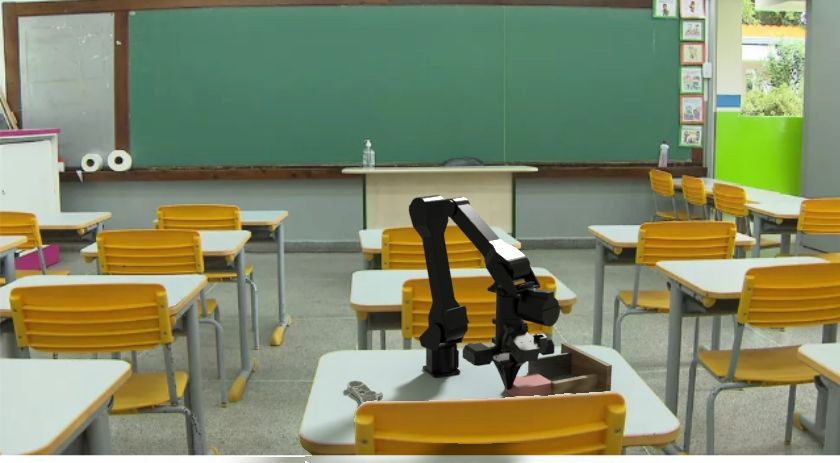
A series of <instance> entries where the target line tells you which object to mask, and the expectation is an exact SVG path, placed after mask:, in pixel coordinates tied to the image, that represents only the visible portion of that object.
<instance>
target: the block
mask: <svg viewBox="0 0 840 463" xmlns="http://www.w3.org/2000/svg"><path fill="white" fill-rule="evenodd" d="M551 382H552V381H551V380H550V379H546V378H545V377H543V376H541V375H539V374H538V373H536V374H531V375H527V374H526V375H521V376H516V378H515V381H514V383H513V386H512V388H511V390H507V389H505V388H504V391H505V392H507V393H509V394H510V395H512V396H513V397H514V396H534V395H545V396H550V395H551Z"/></svg>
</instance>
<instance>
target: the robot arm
mask: <svg viewBox="0 0 840 463" xmlns="http://www.w3.org/2000/svg"><path fill="white" fill-rule="evenodd" d="M408 214H409V218H410V220H411V224H412V227H413V229H414V230H415V231H416V232H417V234H418V236H420V237H421V242H422V247H423V253H424V260H425V264H426V265H425V266H426V269H427V270H426V272H427V277H428V278H427V279H428V282H429V289H430V295H431V296H430V297H431V300H432V303H431V307H430V309H429V312H428V315H427V322H428V325H427V326H428V328H426V330H425V331H424V332H422V334H421V335H419V343H420V346H421V347H422V348H424V349H425V365H423V366H422V369H423V370H424V371H426V372H427V373H428V374H430V375H431V376H432V377H434V378H440V377H445V376H451V375H457V374H458V375H459V374H461V370H460V369H458V368H459V367H460V365H459V364H460V350H458V344H461V343H463V340H464V337H465V335H466V333H467V332H468V330H469V329H468V328H469V324H470V320H469V318H468V313H467V311H468V309H467V307H466V305H460V303H459V302H458V301H457V299H456V297H455V291H454V285H453V279H452V275H451V274H452V273H451V269H450V262H449V256H448V250H447V244H446V237H445V232H446V229H447V227H448V223H449V218H450V220H452V222H453V223H454V224H455V225H456V226H457V227H458V228H459V230H460V231H461V232H462V233H463V234H464V235H465V237H466V238H467V239H468V240H469V242H471V243H472V245H473V246H474V247H475V248H476V250H477V251H478V252H479V253H480V254H481V256H482V257H483V259H484V264H485V265H484V266H485V269H486V270H487V273H488V274H489V275H490V277H491V278H492V280H493V283H492V284H491V285H490V286H489V287H487V288H486V289H487V291H488V292H489V293H494V294H495V317H493V318H491V319H492V320H491V323H492V324H493V325H494V327H495V329H494V334H495V335H494V337H491V343H492V344H494V346H487V345H485V344H484V343H482V342H476V343H470V344H465V345H464V347H463V348H462V358H463V359H464V360H466V361H467V362H469V363H470V364H472V365H473V366H475V367H476V366H477V367H481V366H487V365H491V363H492V362H493V363H494V366H495V368H496V370H497V372H498V375H499V377H500V379H501V381H502V383H503V386H504V390H505V389H507V390H511V388H512V386H513V383H514V381H515V378H516V377H518V373H519V371H520V369H521V367H522V366H523V365H524V364H525V363H528V361H536V360H537V359H538V358H539V355H541V356H550V355H553V354H554V355H555V347H556V346H555V343H554V341H553V339H551V338H549V337H547V335H546V334H545V333H537V334H536V333H535V334H534V333H532V334H530V332H529V325H528V322H529V323H533V324H537V325H540V326H543V327H548V328H551V327H552V326H554V325H555V324H556V323H557V322H558V320H559V317H560V315H561V314H560V313H561V306H560V304H559V301H558V299H557V298H556V297H555V292H554V291H553V290H549V289H547V290H544V289H541V287H542V286H541V283H540V282H539V280H538V278H537V276H536V274H535V273H534V271H533V269H532V267H531V262H530V260H529V258H528V257H527V256H526V255H525V254H524V253H523V252H521V251H520V250H519V249H518V248H516V247H514V246H513V245H511V244H508V243H506V242H504V241H503V240H502V239H501V238H500V237H499V236H498V234H496V232H495V231H494V230H493V229H492V228H491V227H490V226H489V225H488V224H487V222H485V220H484V219H483V218H482V217H481V216H480V214H478V212H477V211H476V210H475V209H474V208H473V207H472V206H471V203H470V201H469V199H468V198H467V197H463V196H460V197H459V196H458V197H451V198H443V196H441V195H439V194H434V195H425V196H418V197H415V198H413V199H412V200H411V202H410V204H409V205H408ZM523 281H524V282H523ZM520 282H521V283H520ZM516 283H517V284H516Z"/></svg>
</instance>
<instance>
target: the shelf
mask: <svg viewBox="0 0 840 463" xmlns="http://www.w3.org/2000/svg"><path fill="white" fill-rule="evenodd" d="M560 344H561V345H560V353H559V354H554V355H553V354H551V355H545V356H541V357H538V359H537V360H536V361H527V363H528V364H527V373H526V375H531V374H536V373H538V374H539V375H541V376H543V377H545V378H546V379H548V380H550V379H555V378H561V377H565V376H573V377H570V378H568V377H567V378H564V379H559V380H558V379H557V380H553V381H551V394H550V395H555V394H564V393H575V394H579V392H580V393H583V392H585V393H586V392H590V391H593V390H598V391H600V392H602V391H611V392H612V374H613V373H612V371H613V365H612V364H610V363H608V362H606V361H604V360H602V359H600V358H599V357H596V356H594V355H592V354H590V353H588V352H585V351H584V350H582V349H580V348H577V347H576V346H574V345H571V344H570V343H568V342H561V343H560Z"/></svg>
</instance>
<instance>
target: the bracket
mask: <svg viewBox="0 0 840 463" xmlns="http://www.w3.org/2000/svg"><path fill="white" fill-rule="evenodd" d="M346 386H347V393H348V394H350V393H351V394H352V395H354V396H355V397H356V398H357V399H358V400H359V401H360V404H362V403H363V402H366V401H374V400H377V401H378V402H379V401H380V400H382V399H383V396H384V394H383V392H382V391H380V392H378V393H377V392H376V391H373V390H371V389H370V387H369V386H367V384H365V383H364V382H363V381H362V380H350V381H348V382H347V385H346Z"/></svg>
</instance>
